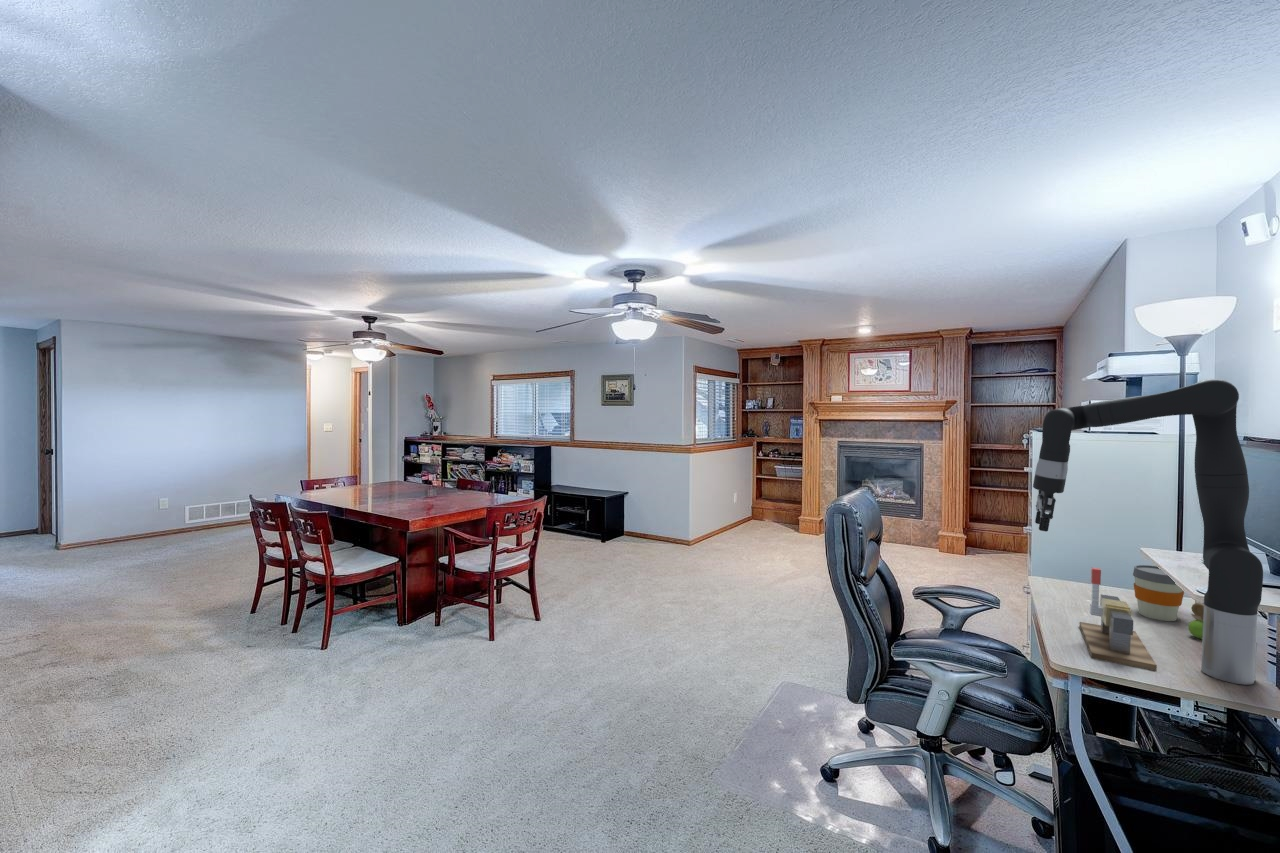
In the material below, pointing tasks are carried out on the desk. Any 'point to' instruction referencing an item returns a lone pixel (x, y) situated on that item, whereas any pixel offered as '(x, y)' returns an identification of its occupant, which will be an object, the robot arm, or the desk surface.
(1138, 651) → the base board
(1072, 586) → the desk surface
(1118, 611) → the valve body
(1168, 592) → the reusable coffee cup
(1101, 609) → the valve lever
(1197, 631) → the snail figurine
